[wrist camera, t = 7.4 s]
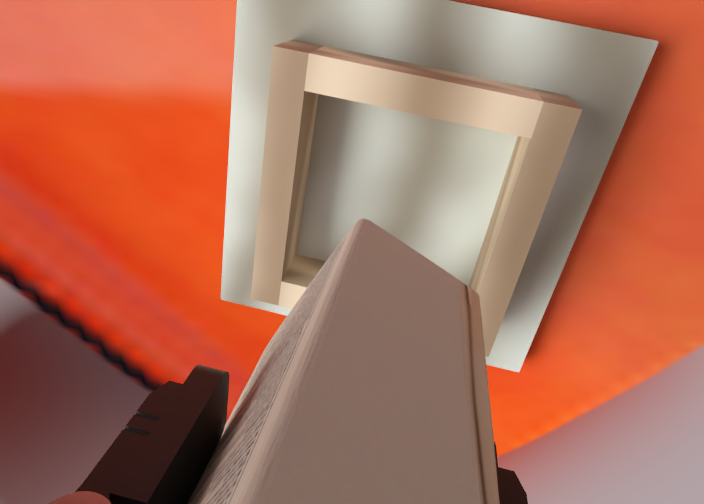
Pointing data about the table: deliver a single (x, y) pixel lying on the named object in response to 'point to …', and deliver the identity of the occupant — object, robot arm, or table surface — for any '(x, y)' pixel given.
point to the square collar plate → (420, 145)
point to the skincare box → (365, 391)
